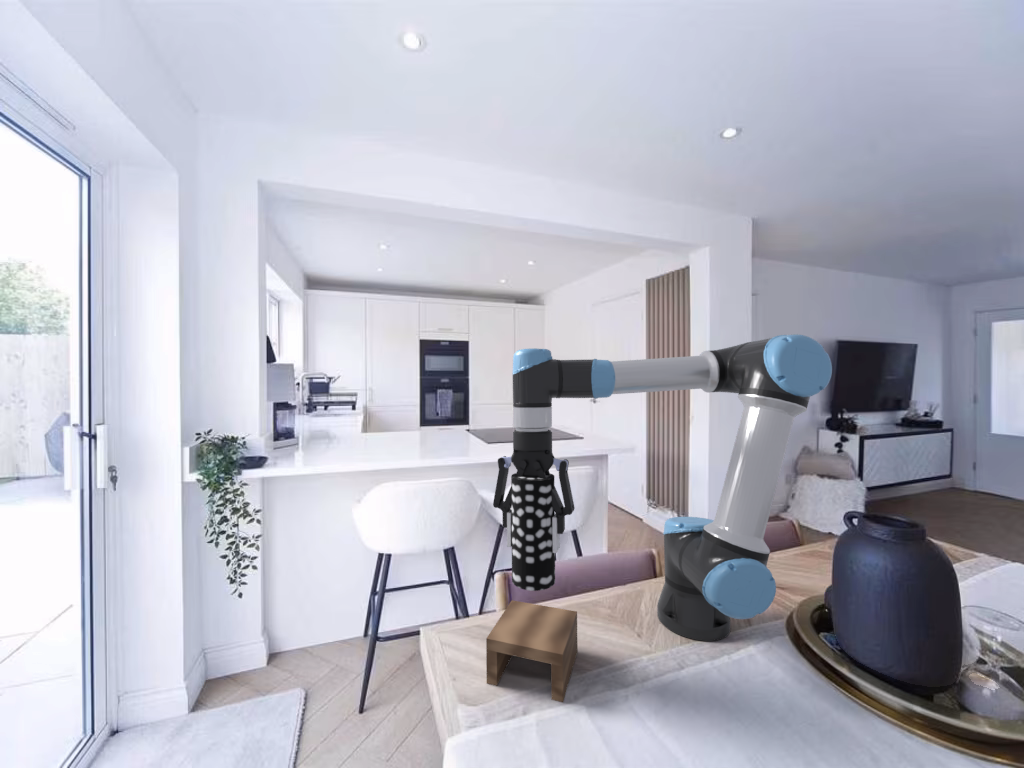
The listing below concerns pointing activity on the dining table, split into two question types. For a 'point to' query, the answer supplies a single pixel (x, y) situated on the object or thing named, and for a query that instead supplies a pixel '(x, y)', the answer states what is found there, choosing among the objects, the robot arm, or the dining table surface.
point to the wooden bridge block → (534, 642)
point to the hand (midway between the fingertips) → (533, 547)
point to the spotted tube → (532, 532)
